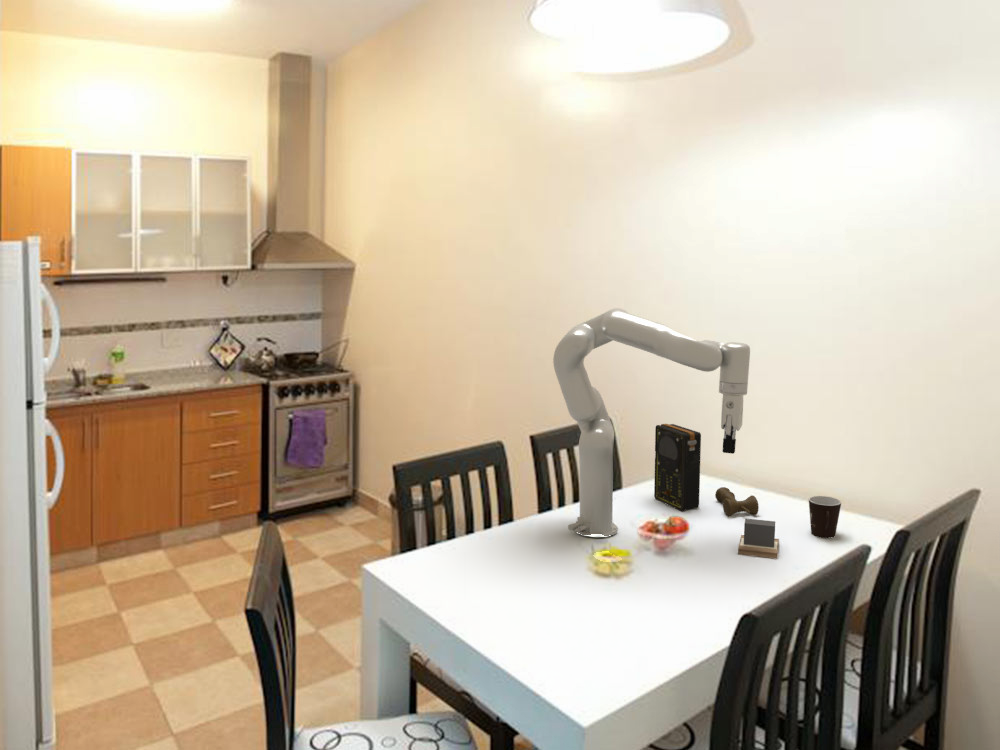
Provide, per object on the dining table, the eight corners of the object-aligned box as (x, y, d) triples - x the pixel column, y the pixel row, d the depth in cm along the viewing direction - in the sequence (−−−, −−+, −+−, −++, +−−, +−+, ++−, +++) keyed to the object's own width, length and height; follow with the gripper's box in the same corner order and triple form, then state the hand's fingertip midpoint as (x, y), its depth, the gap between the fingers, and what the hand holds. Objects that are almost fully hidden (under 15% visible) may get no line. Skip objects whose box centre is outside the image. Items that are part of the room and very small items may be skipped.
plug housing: (774, 547, 213) (774, 526, 212) (743, 544, 216) (744, 523, 215) (774, 542, 217) (775, 521, 216) (744, 539, 220) (745, 518, 219)
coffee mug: (812, 526, 233) (814, 494, 231) (843, 533, 228) (845, 499, 226) (798, 538, 224) (800, 504, 223) (830, 545, 219) (832, 510, 217)
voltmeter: (650, 498, 261) (652, 424, 257) (672, 495, 264) (674, 421, 260) (680, 513, 247) (682, 434, 243) (702, 508, 250) (705, 431, 246)
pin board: (777, 558, 210) (778, 540, 209) (737, 554, 213) (738, 536, 213) (778, 544, 220) (779, 526, 219) (740, 539, 224) (741, 522, 223)
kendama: (736, 501, 258) (764, 520, 239) (707, 504, 257) (734, 523, 238) (736, 483, 258) (764, 501, 238) (707, 486, 256) (734, 504, 237)
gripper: (744, 393, 210) (739, 460, 213) (749, 384, 224) (745, 447, 227) (715, 391, 213) (711, 457, 216) (722, 382, 227) (718, 444, 230)
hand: (728, 452), depth 222 cm, fingers closed
